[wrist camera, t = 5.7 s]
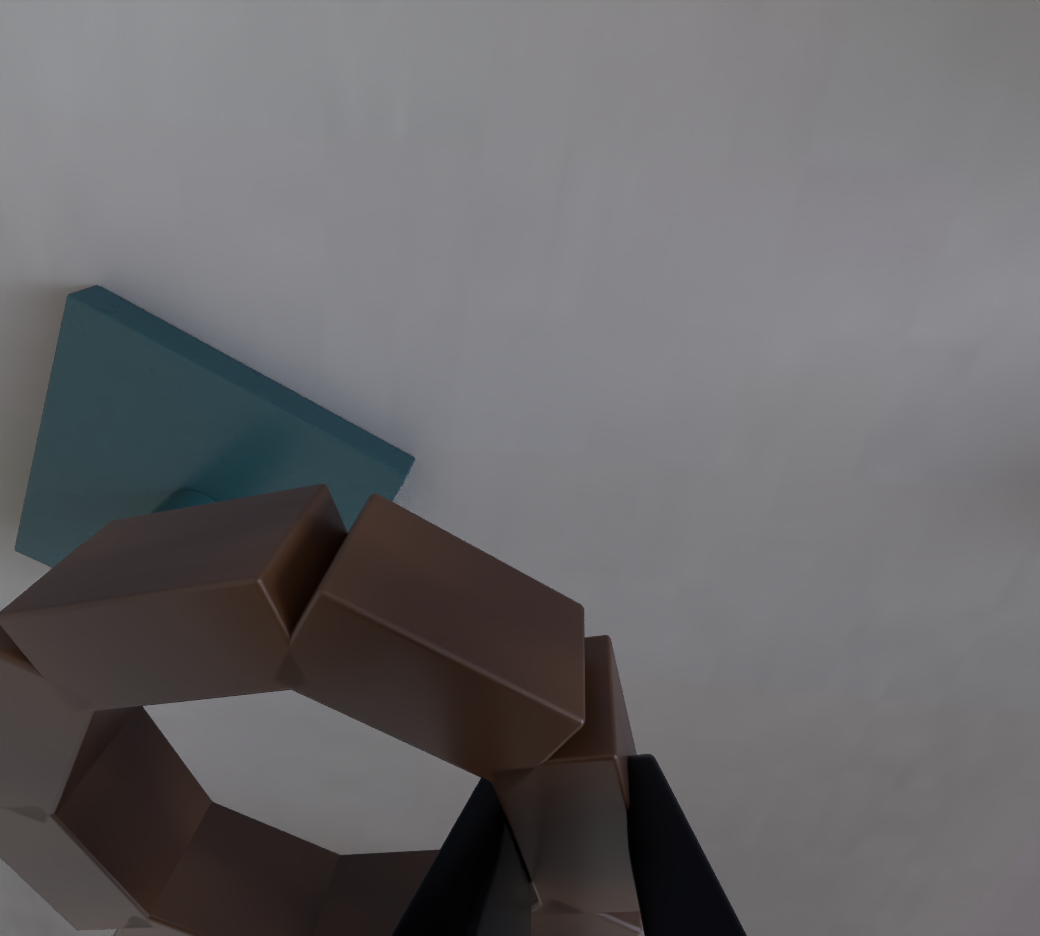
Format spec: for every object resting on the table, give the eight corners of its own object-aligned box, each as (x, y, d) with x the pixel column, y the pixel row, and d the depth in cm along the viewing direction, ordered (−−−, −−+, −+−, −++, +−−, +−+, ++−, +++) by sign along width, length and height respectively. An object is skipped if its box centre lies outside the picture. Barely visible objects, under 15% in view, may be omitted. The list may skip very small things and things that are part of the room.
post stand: (416, 457, 19) (344, 603, 13) (302, 651, 24) (211, 824, 18) (97, 284, 17) (-150, 364, 11) (40, 530, 22) (-158, 678, 16)
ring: (760, 699, 9) (803, 833, 7) (455, 945, 14) (436, 1066, 12) (140, 361, 7) (2, 432, 6) (14, 768, 12) (-86, 881, 10)
